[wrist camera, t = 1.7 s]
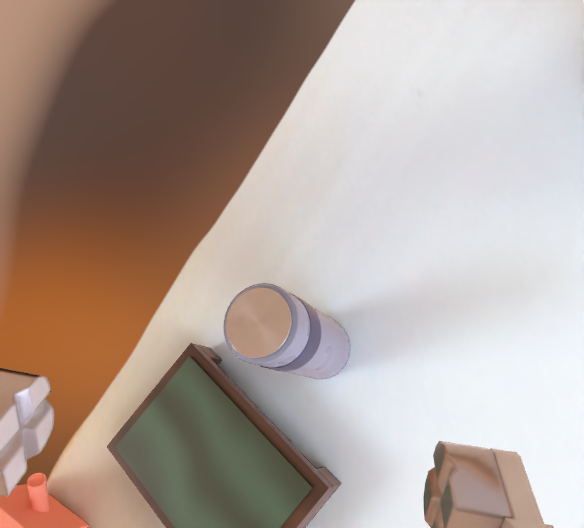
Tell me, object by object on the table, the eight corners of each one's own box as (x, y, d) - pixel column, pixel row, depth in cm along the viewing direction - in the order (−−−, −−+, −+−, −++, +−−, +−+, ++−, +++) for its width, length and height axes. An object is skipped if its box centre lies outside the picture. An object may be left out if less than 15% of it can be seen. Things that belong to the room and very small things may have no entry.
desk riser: (210, 347, 50) (189, 342, 46) (341, 483, 42) (327, 488, 39) (130, 445, 50) (103, 446, 47) (247, 597, 42) (225, 613, 39)
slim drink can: (318, 305, 47) (256, 265, 35) (363, 344, 45) (314, 315, 33) (280, 352, 47) (205, 328, 35) (323, 393, 45) (259, 382, 33)
